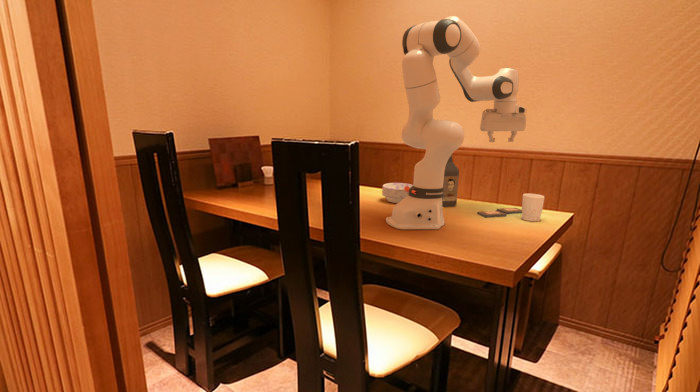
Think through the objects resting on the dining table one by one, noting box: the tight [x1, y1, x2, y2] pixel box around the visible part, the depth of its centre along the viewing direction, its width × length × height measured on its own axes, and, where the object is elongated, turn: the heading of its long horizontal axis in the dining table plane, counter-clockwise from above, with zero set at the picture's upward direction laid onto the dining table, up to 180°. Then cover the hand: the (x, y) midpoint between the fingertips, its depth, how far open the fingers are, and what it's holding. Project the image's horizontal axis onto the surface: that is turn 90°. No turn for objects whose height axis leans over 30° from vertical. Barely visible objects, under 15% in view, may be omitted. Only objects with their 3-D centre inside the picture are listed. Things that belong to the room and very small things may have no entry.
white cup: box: [521, 193, 545, 222], centre depth 150 cm, size 8×8×10 cm
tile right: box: [495, 207, 522, 215], centre depth 162 cm, size 10×6×1 cm, turn 106°
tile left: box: [476, 210, 508, 219], centre depth 156 cm, size 10×6×1 cm, turn 106°
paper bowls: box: [382, 182, 413, 204], centre depth 177 cm, size 15×15×8 cm
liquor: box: [442, 152, 460, 208], centre depth 170 cm, size 9×9×30 cm
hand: (501, 142), depth 159 cm, fingers open, 8 cm apart
